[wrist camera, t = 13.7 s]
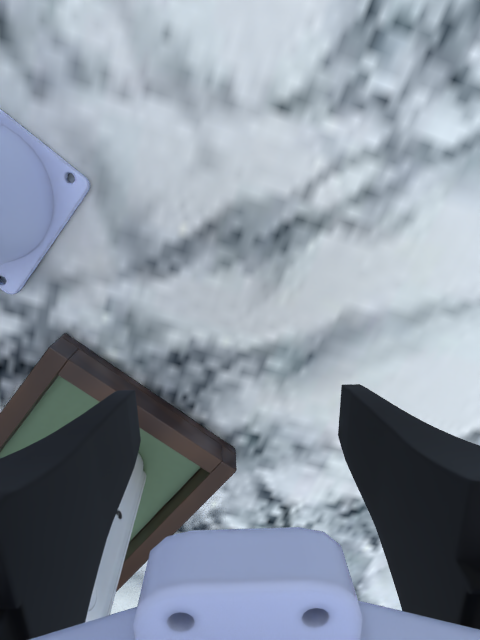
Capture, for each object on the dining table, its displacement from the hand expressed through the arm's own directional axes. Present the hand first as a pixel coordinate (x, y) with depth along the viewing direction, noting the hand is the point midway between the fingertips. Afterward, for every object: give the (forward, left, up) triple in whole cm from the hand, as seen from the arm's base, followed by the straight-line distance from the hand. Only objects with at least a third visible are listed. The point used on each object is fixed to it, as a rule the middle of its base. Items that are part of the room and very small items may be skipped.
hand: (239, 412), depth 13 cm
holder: (-1, -15, -10) cm, 18 cm away
